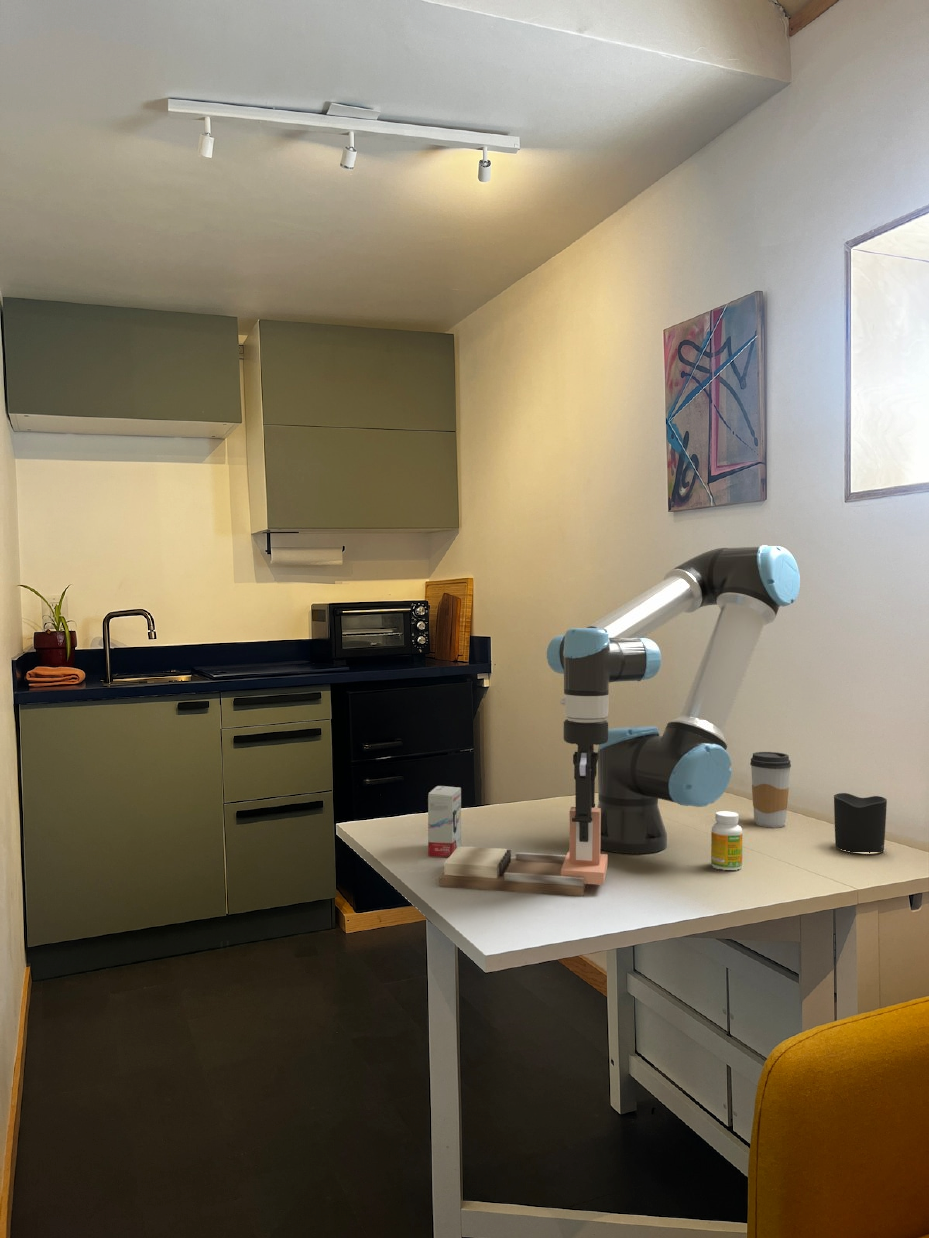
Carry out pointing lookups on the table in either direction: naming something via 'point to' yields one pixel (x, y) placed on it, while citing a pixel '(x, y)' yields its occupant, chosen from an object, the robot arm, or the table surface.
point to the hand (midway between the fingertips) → (585, 856)
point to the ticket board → (508, 872)
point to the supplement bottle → (726, 842)
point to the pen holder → (859, 823)
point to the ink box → (444, 821)
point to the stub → (598, 866)
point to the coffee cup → (770, 788)
